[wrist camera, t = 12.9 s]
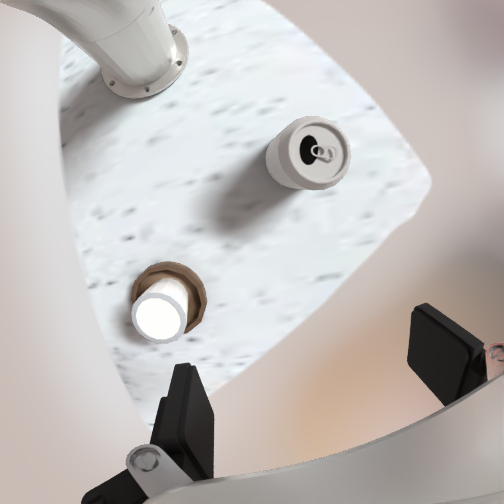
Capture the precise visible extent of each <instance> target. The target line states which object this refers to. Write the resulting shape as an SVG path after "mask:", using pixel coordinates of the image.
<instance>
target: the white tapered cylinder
mask: <svg viewBox="0 0 504 504" xmlns="http://www.w3.org/2000/svg"><path fill="white" fill-rule="evenodd" d="M187 312H188V293H187V291H186V289H185V287H184V286H183V285H182V284H181V283H180V282H179V281H177V280H174V279H171V278H162V279H160V280H158V281H156V282H155V283H154V284H153V285H152V286H151V287H149V288H148V289H147V290H146V291H145V292H144V293H143V294H142V295H141V296H140V297H139V298H138V299H137V301H136V302H135V303H134V304H133V308H132V312H131V316H132V322H133V325H134V326H135V328H136V329H137V331H138V333H140V334H141V335H142V336H143V337H144V338H146V339H147V340H150V341H152V342H155V343H170V342H173V341H176V340H177V339H178V338H179V337H180V336H181V335H182V334H183V333H184V331H185V328H186V325H187Z"/></svg>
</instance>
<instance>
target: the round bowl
mask: <svg viewBox="0 0 504 504" xmlns="http://www.w3.org/2000/svg"><path fill="white" fill-rule="evenodd" d="M162 278H171V279H174V280H177V281H179V282H180V283H181V284H182V285H183V286H184V287H185V289H186V291H187V293H188V312H187V325H186V328H185V331H184V333H183V334H186V333H188V332H189V331H191V330H192V329H193V328H194V327H196V326H197V325H198V324H199V323H200V322H201V321H202V317H203V314H204V311H205V308H206V304H207V298H206V292H205V288H204V285H203V283H202V281H201V280H200V278H199V277H198V276H197V274H196V273H195V272H193V271H192V270H191V269H190V268H188V267H186V266H184V265H182V264H180V263H176V262H160V263H157V264H154V265H151V266H149V267H148V268H147V269H146V270H145V271H144V272H143V273H142V274H141V275H140V276H139V277H138V278H137V280H136V281H135V283H134V287H133V292H132V297H131V300H132V303H133V304H134V303H135V302H136V301H137V299H138V298H139V297H140V296H141V295H142V294H143V293H144V292H145V291H146V290H147V289H148V288H149V287H151V286H152V285H153V284H154V283H155V282H156V281H158V280H160V279H162Z"/></svg>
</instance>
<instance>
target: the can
mask: <svg viewBox="0 0 504 504" xmlns="http://www.w3.org/2000/svg"><path fill="white" fill-rule="evenodd" d="M350 159H351V152H350V145H349V142H348V140H347V137H346V136H345V134H344V133H343V132H342V130H341V129H340V128H339V127H338V126H336V125H335V124H334V123H332V122H331V121H329V120H327V119H324V118H321V117H318V116H306V117H303V118H300V119H296V120H295V121H294V122H292V123H291V124H290V125H288V126H287V127H286V128H285V129H284V130H283V131H282V132H281V133H279V134H278V135H277V136H276V137H275V138H274V139H273V140H272V141H271V143H270V144H269V146H268V148H267V151H266V155H265V160H266V167H267V169H268V172H269V174H270V175H271V176H272V178H273V179H274V180H275V181H276V182H278V183H279V184H281V185H282V186H286V187H289V188H296V189H306V190H324V189H327V188H329V187H332V186H334V185H336V184H337V183H338V182H339V181H340V180H341V179H343V177H344V175H345V174H346V172H347V170H348V168H349V163H350Z"/></svg>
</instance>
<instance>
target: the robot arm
mask: <svg viewBox="0 0 504 504" xmlns="http://www.w3.org/2000/svg"><path fill="white" fill-rule="evenodd" d="M0 2H1V3H3V4H6V5H8V6H11V7H14V8H17V9H20V10H23V11H26V12H28V13H31V14H33V15H35V16H37V17H39V18H41V19H43V20H44V21H46V22H48V23H49V24H51V25H52V26H53V27H55V28H56V29H57V30H59V31H60V32H61V33H62V34H64V35H65V36H66V37H67V38H68V39H70V40H71V41H72V42H73V43H74V44H76V45H77V46H78V47H79V48H80V49H81V50H83V51H84V52H85V53H86V54H87V55H89V56H90V57H91V58H92V59H93V60H94V61H96V62H97V63H98V64H99V65H100V66H101V67H102V76H103V79H104V82H105V84H106V85H107V86H108V88H109V89H110V90H112V91H113V92H114V93H116V94H118V95H119V96H122V97H125V98H133V99H136V98H144V97H148V96H152V95H154V94H157V93H159V92H161V91H162V90H164V89H166V88H167V87H168V86H170V85H171V84H172V83H173V82H174V81H175V80H176V79H177V78H178V77H179V76H180V74H181V73H182V71H183V70H184V68H185V66H186V63H187V60H188V55H189V51H188V44H187V41H186V38H185V36H184V35H183V33H182V32H181V31H180V30H179V29H177V28H176V27H174V26H172V25H170V24H168V23H167V20H166V17H165V15H164V12H163V10H162V7H161V4H160V2H159V0H0ZM179 64H181V65H180V66H178V65H179ZM147 90H149V92H147ZM483 346H484V343H483V342H482V341H480V340H479V339H477V338H476V337H475V336H473V335H472V334H471V333H469V332H468V331H467V330H465V329H464V328H462V327H461V326H460V325H458V324H457V323H455V322H454V321H453V320H451V319H450V318H448V317H447V316H445V315H444V314H443V313H441V312H440V311H438V310H437V309H435V308H434V307H432V306H431V305H429V304H428V303H424V304H421V305H419V306H416V307H415V308H414V311H413V312H412V313H411V326H410V338H409V348H408V356H407V362H408V365H409V366H410V367H411V369H412V370H413V371H414V372H415V373H416V374H417V375H418V376H419V378H420V379H421V380H422V381H423V382H424V383H425V384H426V385H427V387H428V388H429V389H430V390H431V391H432V392H433V393H434V395H435V396H436V397H437V398H438V399H439V400H440V401H441V402H442V404H443V405H444V406H445V407H444V408H442V409H440V410H439V411H437V412H435V413H433V414H431V415H429V416H427V417H425V418H423V419H421V420H419V421H417V422H415V423H413V424H411V425H409V426H406V427H404V428H402V429H400V430H398V431H395V432H393V433H391V434H388V435H386V436H384V437H381V438H378V439H376V440H373V441H371V442H368V443H365V444H363V445H360V446H357V447H354V448H351V449H348V450H345V451H342V452H339V453H336V454H332V455H329V456H326V457H323V458H319V459H315V460H311V461H308V462H303V463H300V464H295V465H290V466H286V467H281V468H276V469H271V470H266V471H261V472H254V473H249V474H242V475H235V476H228V477H221V478H214V475H213V474H214V471H213V469H214V465H213V464H214V463H213V462H214V413H213V410H212V407H211V405H210V402H209V400H208V397H207V395H206V392H205V390H204V387H203V385H202V382H201V379H200V377H199V374H198V371H197V369H196V366H195V365H194V366H191V364H190V363H182V364H176V365H175V367H174V371H173V375H172V379H171V383H170V387H169V392H168V396H167V397H162V398H161V400H160V403H159V407H158V411H157V415H156V419H155V423H154V427H153V431H152V436H151V440H150V444H146V445H140V446H138V447H136V448H134V449H133V450H131V451H130V453H129V454H128V455H127V458H126V466H127V469H126V470H124V471H122V472H121V473H119V474H118V475H116V476H114V477H112V478H111V479H109V480H108V481H106V482H104V483H102V484H101V485H99V486H97V487H95V488H93V489H92V490H90V491H89V492H87V493H86V494H85V495H84V497H83V498H82V501H81V504H504V343H493V344H491V345H489V346H488V347H487V348H486V350H485V349H483Z"/></svg>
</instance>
